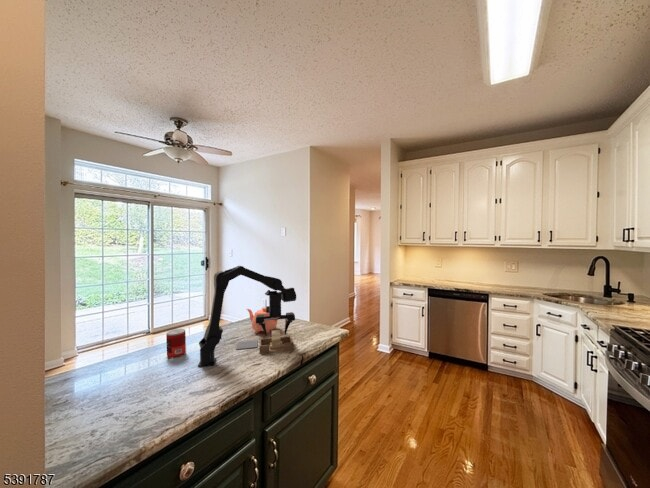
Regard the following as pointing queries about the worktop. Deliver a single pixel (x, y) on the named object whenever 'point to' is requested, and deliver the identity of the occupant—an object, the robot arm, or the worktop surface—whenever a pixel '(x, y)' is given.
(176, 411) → the worktop surface
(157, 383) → the worktop surface
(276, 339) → the maple block
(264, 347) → the box
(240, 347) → the rubber mat
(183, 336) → the canned food
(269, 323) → the teapot
